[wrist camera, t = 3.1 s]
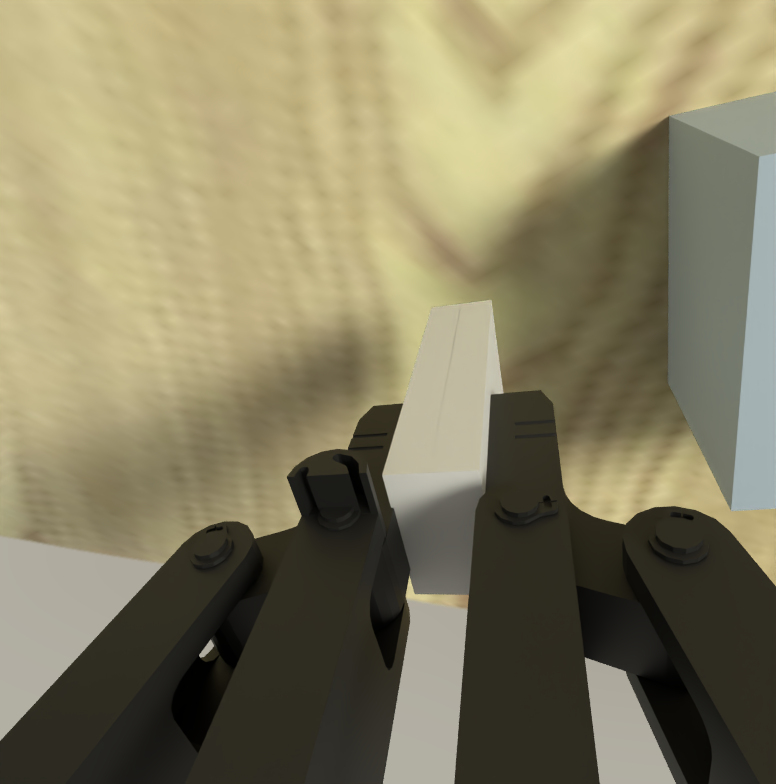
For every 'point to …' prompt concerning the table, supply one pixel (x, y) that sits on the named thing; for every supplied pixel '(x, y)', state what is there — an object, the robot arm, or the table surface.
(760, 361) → the block
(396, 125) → the table surface
